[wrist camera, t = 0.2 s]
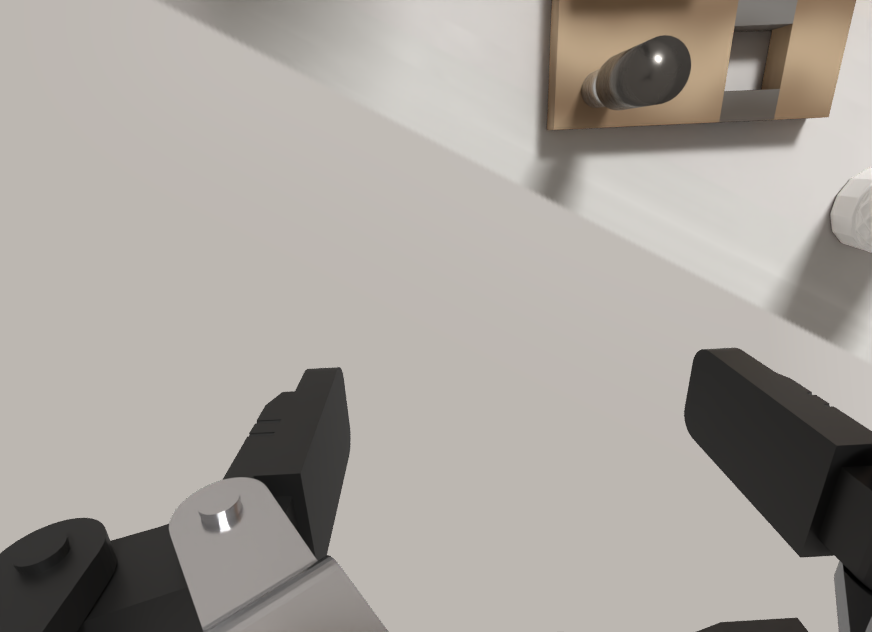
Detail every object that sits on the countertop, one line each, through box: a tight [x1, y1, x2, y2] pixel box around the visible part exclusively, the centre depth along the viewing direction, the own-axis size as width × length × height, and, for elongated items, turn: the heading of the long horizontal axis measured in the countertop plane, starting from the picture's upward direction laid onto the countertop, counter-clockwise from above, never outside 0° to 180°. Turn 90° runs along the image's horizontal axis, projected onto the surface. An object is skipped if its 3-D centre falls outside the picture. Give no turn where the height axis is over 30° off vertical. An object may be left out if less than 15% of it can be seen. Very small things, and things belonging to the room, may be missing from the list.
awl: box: [581, 35, 691, 111], centre depth 28 cm, size 3×3×9 cm
